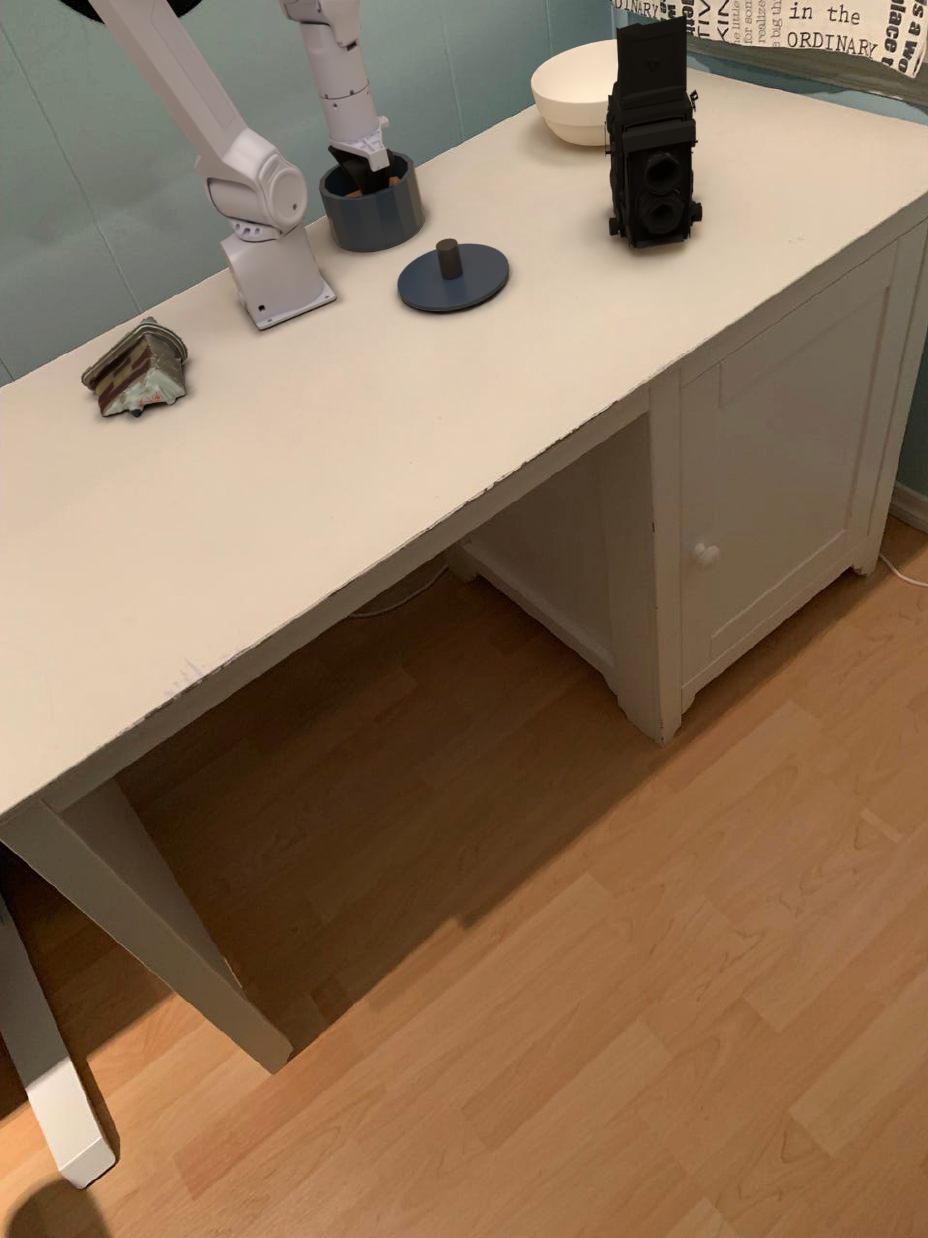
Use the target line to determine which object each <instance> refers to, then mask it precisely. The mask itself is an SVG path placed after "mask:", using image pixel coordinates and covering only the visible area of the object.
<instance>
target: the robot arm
mask: <svg viewBox="0 0 928 1238" xmlns="http://www.w3.org/2000/svg"><path fill="white" fill-rule="evenodd" d="M87 1H88V3H89V4H90V5H91V6H92V8H93V9H94V11H95V12H96V14H97V15H98V16H99V18H100V19H101V20H102V22H103V23H104V24H105V27H107V29H108V30H109V32H110V33H111V34H112V36H113V37H114V38H115V40H116V41H117V42H118V44H119V45H120V47H121V48H122V49H123V51H124V52H125V54H126V55H127V57H128V58H129V59H130V60H131V62H132V63H133V64H134V66H135V67H136V69H137V70H138V71H139V73H140V74H141V76H142V78H144V80H145V81H146V83H147V84H148V85H149V87H150V88H151V90H152V91H153V92H154V94H155V95H156V96H157V98H158V99H159V101H160V102H161V103H162V105H163V106H164V108H165V109H166V110H167V112H168V113H169V114H170V116H171V117H172V119H173V121H175V123H176V124H177V125H178V127H179V128H180V130H181V131H182V133H183V134H184V135H185V136H186V138H187V139H188V141H189V142H190V144H191V145H192V146H193V148H194V149H195V150H196V152H197V153H198V154H197V156H196V159H195V163H194V167H193V170H194V172H195V174H196V175H197V176H198V178H199V179H200V181H201V182H202V186H203V187H204V191H205V195H206V198H207V201H208V203H209V205H210V208H212V209H213V211H214V212H215V213H216V214H218V215H219V216H221V217H223V218H226V219H227V221H228V224H229V226H230V229H231V230H234V232H233V233H232V234H230V236H228V237H227V238H224V239H223V240H221V241H220V242H219V247H220V249H221V252H222V255H223V258H224V260H225V263H226V264H227V267H228V270H229V272H230V274H231V277H232V279H233V282H234V284H235V287H236V290H237V292H236V293H237V296H238V298H239V300H240V303H241V305H242V306H243V308H246V310H247V312H248V313H249V316H250V317H251V318H252V320H253V322H254V324H255V326H256V327H257V329H258V330H265V329H268V328H270V327H272V326H275V325H277V324H280V323H282V322H284V321H287V320H289V319H291V318H294V317H297V316H299V315H302V314H303V313H307V312H308V311H311V310H314V309H316V308H318V307H321V306H323V305H325V304H328V303H330V302H332V301H334V300H336V298H337V296H336V293H335V292H334V291H333V289H332V288H331V287H330V285H329V284H328V283H327V281H326V280H325V279H324V277H323V276H322V274H321V273H320V270H319V268H318V265H317V262H316V259H315V255H314V252H313V249H312V246H311V242H310V240H309V236H308V234H307V230H306V227H305V225H304V222H303V221H304V220H305V219H306V215H305V214H306V211H307V208H308V203H309V191H308V184H307V181H306V179H305V176H304V174H303V173H302V171H301V170H300V169H299V167H298V166H296V165H295V164H293V163H291V162H289V161H287V159H286V158H284V157H283V155H282V154H281V153H280V151H279V149H278V148H277V146H275V145H274V144H273V143H271V142H269V141H268V140H267V139H266V138H264V137H263V136H261V135H260V134H258V133H256V132H255V131H254V130H253V129H251V128H250V127H249V126H248V125H247V123H246V122H245V120H244V119H243V117H242V115H241V114H240V112H239V110H238V109H237V108H236V106H235V105H234V102H233V101H232V100H231V99H230V97H229V95H228V94H227V92H226V91H225V89H224V87H223V86H222V85H221V83H220V81H219V80H218V78H217V77H216V75H215V73H214V72H213V70H212V69H211V68H210V65H209V64H208V63H207V61H206V59H205V58H204V57H203V55H202V53H201V52H200V50H199V49H198V47H197V45H196V43H194V41H193V40H192V38H191V36H190V35H189V33H188V31H187V30H186V28H185V27H184V26H183V24H182V22H181V21H180V19H179V18H178V16H177V14H176V13H175V12H174V10H173V8H172V7H171V5H170V3H169V2H168V1H167V0H87ZM277 1H278V5H279V7H280V10H281V11H282V13H283V15H284V16H285V18H286V20H289V21H293V22H295V23H298V26H299V31H300V33H301V37H302V40H303V43H304V47H305V51H306V54H307V55H306V56H307V58H308V61H309V65H310V69H311V72H312V76H313V79H314V83H315V87H316V90H317V94H318V97H319V101H320V105H321V108H322V112H323V115H324V118H325V122H326V126H327V129H328V140H329V143H330V145H329V146H328V147H327V151H328V152H329V153H330V155H332V157H333V158H334V160H335V161H336V162H337V164H339V165H340V166H341V168H342V170H343V171H344V173H345V175H346V177H347V179H348V181H349V183H350V185H351V187H352V189H353V191H354V192H356V191H358V190H360V191H361V193H362V196H363V195H368V194H373V193H376V192H378V191H381V190H383V189H386V188H388V187H389V181H390V173H391V169H392V165H393V162H394V154H393V152H392V151H393V150H391V149H390V148H386V147H385V145H384V139H383V138H384V137H383V130H385V129H387V128H389V127H390V121H389V118H388V117H386V116H385V115H379V116H378V114H377V110H376V106H375V105H376V104H375V102H374V97H373V93H372V88H371V84H370V80H369V75H368V72H367V68H366V63H365V59H364V55H363V51H362V46H361V41H360V36H361V29H362V27H361V22H360V17H359V16H360V15H359V8H360V3H361V2H360V1H361V0H277Z"/></svg>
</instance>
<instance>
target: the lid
mask: <svg viewBox="0 0 928 1238" xmlns="http://www.w3.org/2000/svg"><path fill="white" fill-rule="evenodd" d="M509 264H510V263H509V260H508V258H507V257H506V255H505V254H504V253H503V252H502V251H500V250H499V249H497V248H496V247H494V246H490V245H486V244H482V243H472V242H471V243H459V242H458V240H457V239H456V238H451V237H449V238H444V239H441V240H439V241H438V242H437V243H436V244H435V249H432V250H430V251H427V252H425V253H423V254H421V255H420V256H417V257H416V258H415V259H413V260H411V261H410V262H409V263H408V264H407V265H406V266H405V267H404V268H403V270H401V272H400V274H399V276H398V277H397V278H398V279H397V284H396V286H397V287H396V288H397V292H398V294H399V296H400V298H401V299H402V300H403V301H404V302H405V303H406V304H407V305H409V306H411V307H413V308H415V309H419V310H424V311H430V312H445V311H454V310H461V309H463V308H467V307H470V306H473V305H476V304H478V303H480V302H482V301H485V300H487V299H488V298H490V297H491V296H492V295H494V294H495V293H497V292H498V291H499V290H500V289H501V288H502V287H503V286H504V284H505V283H506V281H507V280H508V278H509V274H510V265H509Z"/></svg>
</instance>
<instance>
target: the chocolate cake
mask: <svg viewBox="0 0 928 1238" xmlns="http://www.w3.org/2000/svg"><path fill="white" fill-rule="evenodd" d="M188 356H189V350H188V347H187V346H186V344H185V343H184V340H183V338H182V337H180V336H179V335H178V334H176V332H174V330H172V329H171V328H168V327H167V326H164V325H162V324H160V323H158V321H157V319H155V317H153V316H150V315H149V316H148V317H145V318H143V319H142V320H141V321H140V322H139V323H138V324H137V326H135V327H133V328H132V330H130V331H128V332H127V333H126V334H125V335H124V336H122V338H120V339H119V340H118V341H117V342H116V343H115V344H114V345H113V346H112V347H111V348H110V349H109V350H108V351H107V352H106V353H104V354H103V355H102V356H100V357H99V358H98V360H97V361H96V362H95V363H94V364H92V365H91V366H88V367H87V368H86V370H85V371H84V372H82V373H81V376H80V383H82V385H83V386H84V387H86V388H87V389H88V390H90V391H91V392H95V394H96V396H97V397H98V398H97V403H98V405H97V406H98V407H99V409H100V414H101V415H102V416H103V417H104V416H106V417H107V416H109V415H114V414H117V413H121V412H123V411H125V410H129V411H130V414H131V415H132V416H135V417H138V416H140V414H141V413H142V411H143V410H144V407H145V406H147V405H151V404H154V403H164V402H165V403H166V404H167V405H173V404H175V402H176V399H177V398H180V397H183V396H185V395H186V394H187V391H186V386H185V384H184V380H185V379H184V374H183V371H182V365H183V364H184V362H185V361H186V360H187V359H188Z"/></svg>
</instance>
